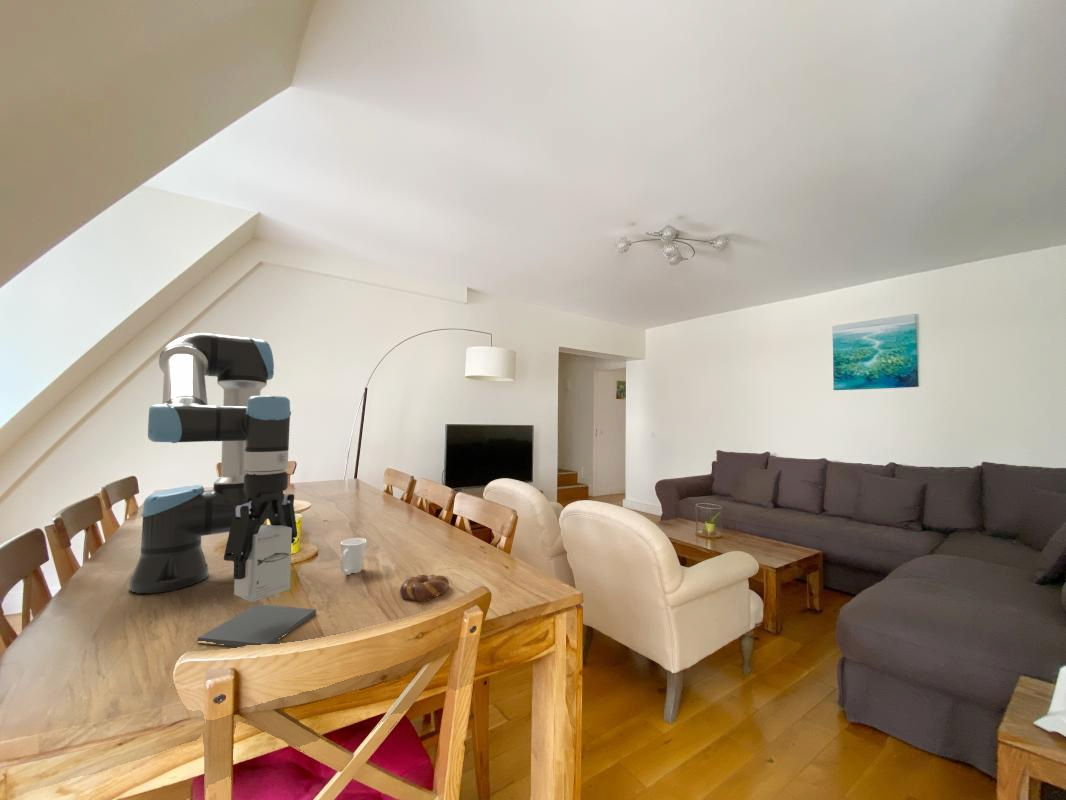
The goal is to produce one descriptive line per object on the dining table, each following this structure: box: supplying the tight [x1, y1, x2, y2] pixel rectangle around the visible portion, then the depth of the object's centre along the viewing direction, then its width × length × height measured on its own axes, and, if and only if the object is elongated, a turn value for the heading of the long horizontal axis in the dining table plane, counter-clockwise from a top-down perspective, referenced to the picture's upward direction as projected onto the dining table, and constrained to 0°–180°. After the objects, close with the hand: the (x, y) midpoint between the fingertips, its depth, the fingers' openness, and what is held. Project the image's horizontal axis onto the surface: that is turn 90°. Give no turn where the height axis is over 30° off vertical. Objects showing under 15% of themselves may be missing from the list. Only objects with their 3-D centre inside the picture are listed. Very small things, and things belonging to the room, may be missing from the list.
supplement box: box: [233, 523, 292, 603], centre depth 84 cm, size 7×7×13 cm
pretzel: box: [399, 574, 450, 602], centre depth 102 cm, size 12×11×4 cm
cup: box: [339, 537, 367, 576], centre depth 114 cm, size 7×10×8 cm
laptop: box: [197, 604, 317, 648], centre depth 84 cm, size 14×14×1 cm
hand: (262, 584), depth 84 cm, fingers closed on supplement box, 9 cm apart
